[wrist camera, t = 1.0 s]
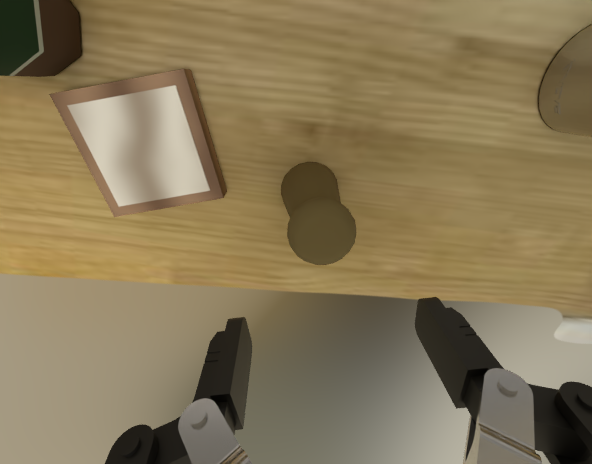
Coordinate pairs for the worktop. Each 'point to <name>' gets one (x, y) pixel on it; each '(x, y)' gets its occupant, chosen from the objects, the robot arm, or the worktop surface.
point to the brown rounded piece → (316, 215)
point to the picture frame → (144, 141)
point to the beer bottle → (38, 37)
